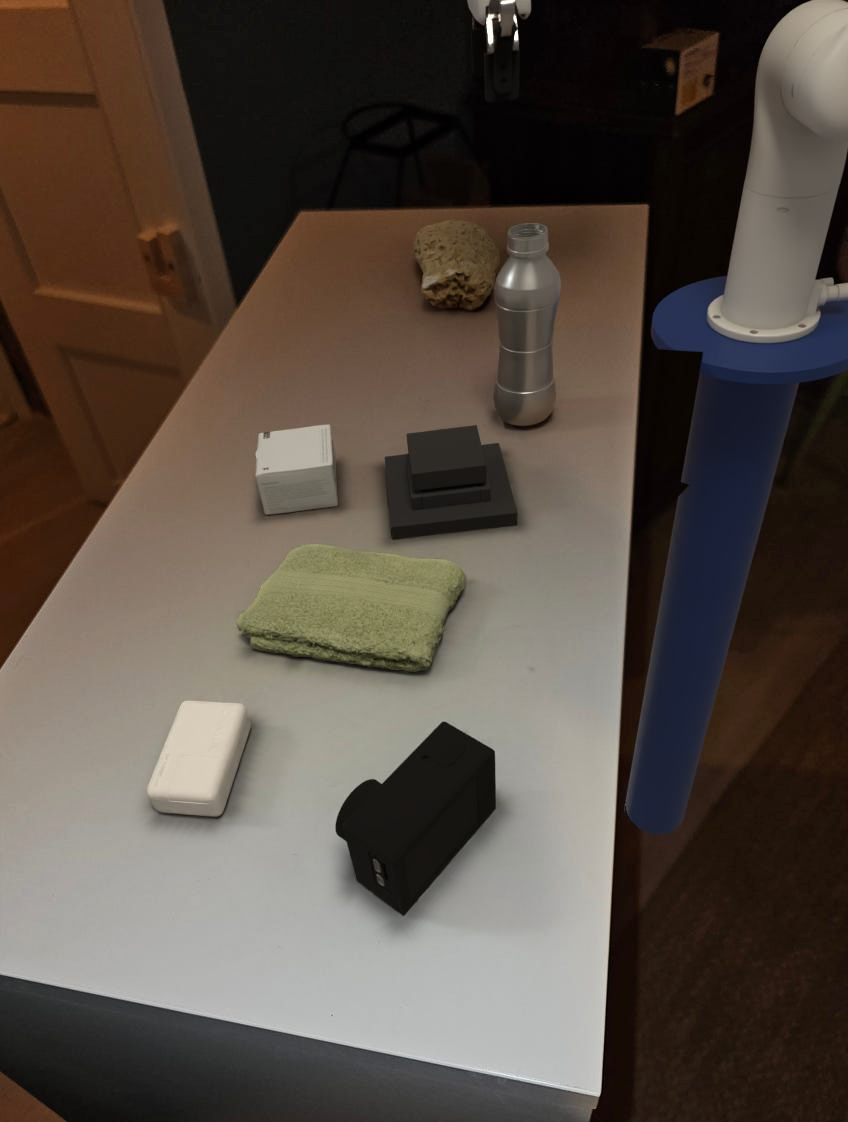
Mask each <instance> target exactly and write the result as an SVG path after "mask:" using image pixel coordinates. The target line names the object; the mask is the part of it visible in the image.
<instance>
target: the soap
mask: <svg viewBox="0 0 848 1122" xmlns="http://www.w3.org/2000/svg"><path fill="white" fill-rule="evenodd" d="M247 710H248V709H247V708H246V706H245V704H243V703H239V702H223V701H203V700H184V701H183V702H182V703H181V704H180V706H179V708H178V710H177V713H176V716H175V718H174V719H173V723H172V724H171V728H170V730H169V733H168V735H167V737H166V740H165V742H164V744H163V748H162V750H161V752H160V755H159V757H158V760H157V762H156V765H155V767H154V769H153V773H152V775H151V777H150V780H149V782H148V784H147V787H146V794H147V797H148V798H149V800H150V802H151V804H152V806H153V808H154V809H155V810H156V811H157V812H160V813H167V814H176V815H177V814H179V815H188V816H189V815H190V816H202V817H212V818H213V817H214V818H215V817H221V815H222V814H223V813H224V811H225V808H226V805H227V802H228V799H229V795H230V793H231V790H232V787H233V783H234V781H235V777H236V775H237V771H238V768H239V766H240V765H239V764H240V762H241V759H242V756H243V753H244V750H245V747H246V743H247V740H248V738H249V735H250V731H251V728H252V723H251V719H250V715H249V713H248V711H247Z"/></svg>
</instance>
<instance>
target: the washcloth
mask: <svg viewBox="0 0 848 1122" xmlns="http://www.w3.org/2000/svg"><path fill="white" fill-rule="evenodd" d="M466 580H467V575H466V573H465V572H464V570H463V569H462V568H461V566H459V565H458V563H456V562H453V561H451V560H449V559H442V558H429V557H428V558H427V557H423V558H415V557H407V556H403V555H399V554H395V553H388V552H383V553H382V552H377V551H366V550H358V549H350V548H347V547H340V546H337V545H336V546H335V545H329V544H323V543H308V544H302V545H297V546H295V547H293V548H291V550H289V552H288V553H287V554H286V555H285V557H284V559H283V561H282V562H281V563H280V565H278V567H277V568H276V569H275V570H274V571H273V573H272V574H270V576H268V578H266V579H265V580H264V582H263V583H262V584H261V585H260V587H259V591H258V594H257V595H256V597H255V599H254V600H253V602H252V603H251V604H250V605H249V607H248V608H247V609H245V610H244V611H243V612H242V613H241V614H240V615H239V616H238V618H237V619H236V622H235V623H236V624H235V625H236V628H237V630H238V631H240V634H242V635H244V636H248V637H250V646H251V648H253V649H255V650H258V651H261V652H270V653H275V654H276V653H277V654H286V655H287V654H288V655H290V656H291V657H297V658H301V657H307V658H308V657H309V658H313V659H316V660H322V661H332V662H336V663H340V662H342V663H343V664H345V663H347V664H349V665H350V664H351V665H352V664H353V665H355V664H356V665H360V666H362V667H368V668H371V667H375V668H376V667H377V668H383V669H389V670H393V671H397V670H398V671H406V672H408V673H416V672H418V671H425V670H428V669H429V668H430V666H431V664H432V663H433V657H434V656H435V651H436V646H439V641H440V639H441V638H442V635H443V633H444V631H445V627H444V624H445V622H446V619H447V617H448V613H449V611H450V610H452V609H454V607H455V605H456V601H457V600H458V597H459V596H460V595H461V593H462V591H463V589H464V588H465V587H466V584H467V583H466Z"/></svg>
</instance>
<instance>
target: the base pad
mask: <svg viewBox="0 0 848 1122" xmlns="http://www.w3.org/2000/svg"><path fill="white" fill-rule="evenodd" d="M481 445H482V449H483V454H484V458H485V462H486V477H487V482H484V483H476V484H473V485H466V486H458V487H449V488H441V489H433V490H417V491H413V485H412V477H411V469H410V462H409V454H408V453H404V454H396V455H387V456H384V467H385V476H386V488H387V498H388V509H389V520H390V530H391V537H392V540H396V539H398V540H399V539H407V538H414V537H415V538H416V537H422V536H423V537H425V536H432V535H439V534H449V533H457V532H458V533H459V532H467V531H475V530H483V529H492V528H500V527H508V526H517V525H518V509H517V506H516V502H515V498H514V494H513V490H512V487H511V483H510V480H509V476H508V471H507V468H506V465H505V464H506V463H505V461H504V456H503V452H502V449H501V445H500V442H493V443H485V444H481Z"/></svg>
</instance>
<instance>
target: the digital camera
mask: <svg viewBox="0 0 848 1122" xmlns="http://www.w3.org/2000/svg"><path fill="white" fill-rule="evenodd" d="M496 778H497V777H496V750H494V749H493V748H492V747H490V746H488V745H486V744H485V743H483V742H482V741H480V740H478V739H477V738H474V737H473V736H471V735H470V734H468V733H466V732H464V731H463V730H461V729H459V728H458V727H456V726H454V725H452V724H450V723H449V722H447V721H441V722H440V723H439V724H438V725H437V726H436V727H435V728H434V729H433V730H432V732H430V733H429V734H428V735H427V737H425V739H424V740H422V742H421V743H420V744H419V745H418V746H417V747H416V748H415V749H414V750H413V751H412V752H410V754H409V755H408V756H407V757H406V758H405V759H404V760H403V761H402V762H401V763H400V764H399V765H398V767H396V769H395V770H393V772H391V774H390V775H389V776H387V778H386V779H385V780H383V782H380V781H379V780H377V779H375V778H370V779H366V780H364V781H363V782H361V783H360V784H358V785H357V786H356V787H355V788H354V789H353V790H352V791H351V792H350V793H349V795H348V796H347V797H346V798H345V800H344V802H343V803H342V805H341V806H340V809H339V810H338V814H337V816H336V820H335V828H334V829H335V833H336V835H337V836H338V837H339V838H341V840H343V841H345V842H346V845H347V848H348V853H349V856H350V857H349V858H350V862H351V865H352V869H353V873H354V876H355V880H356V881H357V883H359V884H361V886H363V887H364V888H365V889H367V890H368V891H370V892H371V893H373V895H375V896H376V897H378V898H379V899H380V900H382V901H383V902H384V903H385V904H387V905H388V906H390V907H391V908H392V909H393V910H394V911H396V912H397V913H399V914H400V915H401V916H402V917H403V916H405V915H406V914H407V913H408V912H409V910H410V909H411V908H412V907H413V906H414V905H415V904H416V902H417V901H418V900H419V899H420V898H421V896H422V895H423V894H424V893H425V892H426V891H427V889H428V888H429V887H430V886H431V885H432V884H433V883H434V881H436V879H437V878H438V877H439V875H440V874H441V873H442V872H443V871H444V870H445V869H446V867H447V866H448V865H449V864H450V863H451V862H452V860H453V859H454V858H455V857H456V856H457V855H458V853H459V852H460V851H461V850H462V849H463V847H464V846H465V845H466V844H467V843H468V842H469V841H470V839H471V838H472V837H473V836H474V835H475V833H476V832H477V831H478V830H479V829H480V828H481V826H483V824H484V823H485V822H486V821H487V820H488V818H489V817H490V816H491V815H492V814H493V812H495V810H496V809H497V788H496V785H497V784H496V783H497V781H496V780H497V779H496Z"/></svg>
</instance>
